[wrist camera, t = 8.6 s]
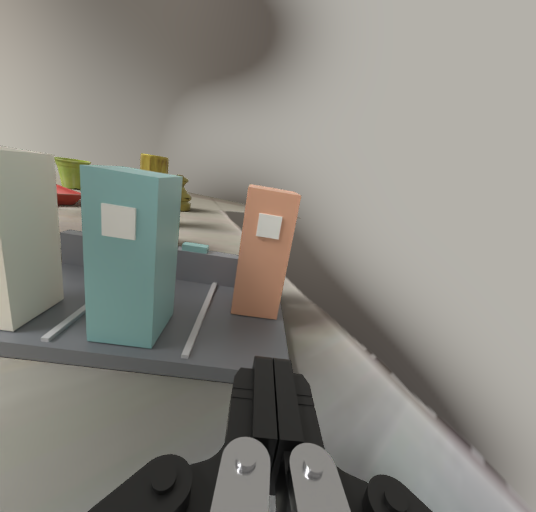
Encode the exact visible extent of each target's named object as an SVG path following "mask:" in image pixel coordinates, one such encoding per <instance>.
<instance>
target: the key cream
mask: <svg viewBox="0 0 536 512" xmlns="http://www.w3.org/2000/svg"><path fill="white" fill-rule="evenodd" d="M63 299H64V293H63V278H62V263H61V248H60V234H59V219H58V204H57V189H56V174H55V159H54V155H52V154H47V153H41V152H35V151H29V150H23V149H17V148H11V147H6V146H0V330H5V331H15V330H16V329H18V328H19V327H21V326H22V325H24V324H26V323H27V322H29V321H30V320H32V319H33V318H35V317H36V316H38V315H40V314H41V313H43V312H44V311H46V310H47V309H49V308H50V307H52V306H54V305H55V304H57V303H58V302H60V301H61V300H63Z"/></svg>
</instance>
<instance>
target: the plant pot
mask: <svg viewBox="0 0 536 512" xmlns="http://www.w3.org/2000/svg"><path fill="white" fill-rule="evenodd" d="M54 159H55V162H56V164H57V167H58V171H59V175H60V179H61V183H62V186H63V187H65V188H69V189H75V188H77V189H80V190H81V187H80V165H89V164H91V162H88V161H83V160H76V159H68V158H59V157H54Z"/></svg>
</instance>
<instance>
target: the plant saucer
mask: <svg viewBox="0 0 536 512" xmlns="http://www.w3.org/2000/svg"><path fill="white" fill-rule="evenodd" d="M56 189H57V204H58V205H73V204H75V203H76V202H77V201H78V200H80V199H81V193H79V192H76V191H74V190H71V189H68V188H65V187H62V186H60V185H57V184H56Z"/></svg>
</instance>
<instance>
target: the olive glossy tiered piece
mask: <svg viewBox="0 0 536 512" xmlns="http://www.w3.org/2000/svg"><path fill="white" fill-rule="evenodd" d="M176 176H182V177H183V175H176ZM187 182H188V179H186V178H185V177H183V178H182V193H181V207H180V211H189V210H190V206H191V203H190V202H188V201H190V200H191V195H190V194H188V193H187V191H186V190H185V188H184V185H185V184H186V183H187Z"/></svg>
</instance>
